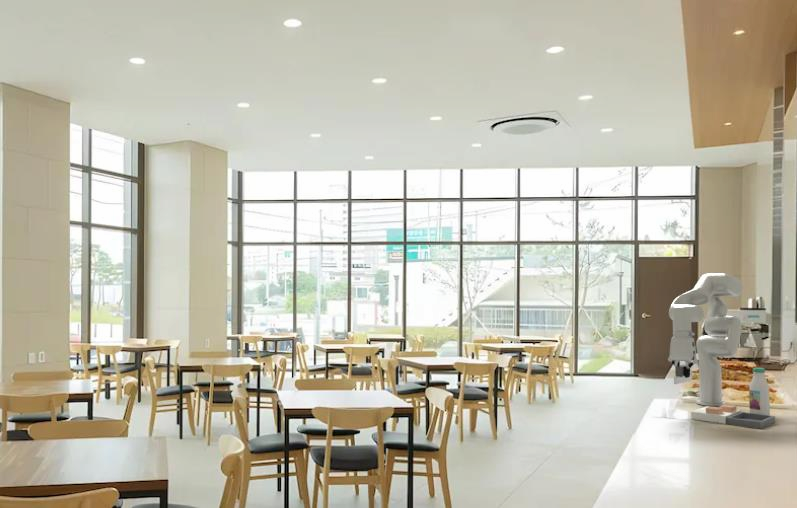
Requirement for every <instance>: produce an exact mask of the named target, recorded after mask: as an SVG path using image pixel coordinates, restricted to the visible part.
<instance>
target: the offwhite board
mask: <svg viewBox="0 0 797 508" xmlns="http://www.w3.org/2000/svg"><path fill="white" fill-rule="evenodd" d="M707 407H710V406H706V405H705V406H704V407H701V408H697V409H693V410H692V411H690V418H691V420H697V421H702V422H703V421H704V422H705V421H706V422H711V423H717V422H718V424H727V417H730V416H732V415H735V414H737V413H740V412H741V410H739V409H736V411H734V412H724V411H723V413H721V414H710V413H706V408H707Z"/></svg>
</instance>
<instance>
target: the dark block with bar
mask: <svg viewBox="0 0 797 508" xmlns="http://www.w3.org/2000/svg"><path fill="white" fill-rule="evenodd" d="M685 368H686V364H680V365H679V366H674V370H675V376H673V384H674V385H678V384H679V385H680V384H682V383H687V382H691V381H693V374H692V373H691V372H690V376H689V377H688V378H685Z"/></svg>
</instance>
